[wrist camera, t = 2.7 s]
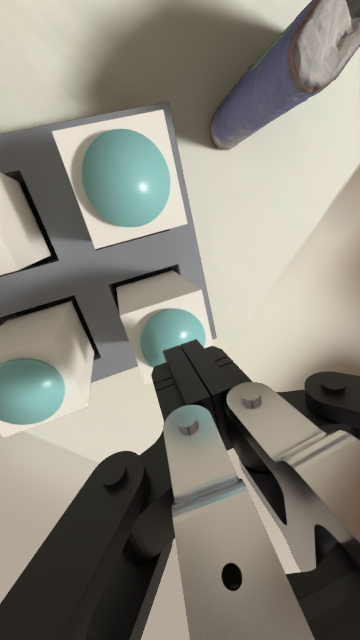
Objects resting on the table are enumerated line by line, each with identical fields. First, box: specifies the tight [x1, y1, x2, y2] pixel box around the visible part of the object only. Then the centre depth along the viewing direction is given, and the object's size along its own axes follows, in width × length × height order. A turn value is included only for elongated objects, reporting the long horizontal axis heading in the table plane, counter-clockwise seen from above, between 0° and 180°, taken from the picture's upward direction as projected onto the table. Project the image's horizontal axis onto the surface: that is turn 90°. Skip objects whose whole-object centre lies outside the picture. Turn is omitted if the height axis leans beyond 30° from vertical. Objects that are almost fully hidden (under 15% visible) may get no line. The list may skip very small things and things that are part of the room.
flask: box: [210, 0, 360, 150], centre depth 12 cm, size 9×3×11 cm, turn 131°
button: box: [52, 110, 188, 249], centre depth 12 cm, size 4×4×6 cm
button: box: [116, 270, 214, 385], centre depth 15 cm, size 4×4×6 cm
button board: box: [0, 102, 217, 383], centre depth 17 cm, size 15×15×3 cm
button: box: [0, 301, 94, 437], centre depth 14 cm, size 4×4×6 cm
